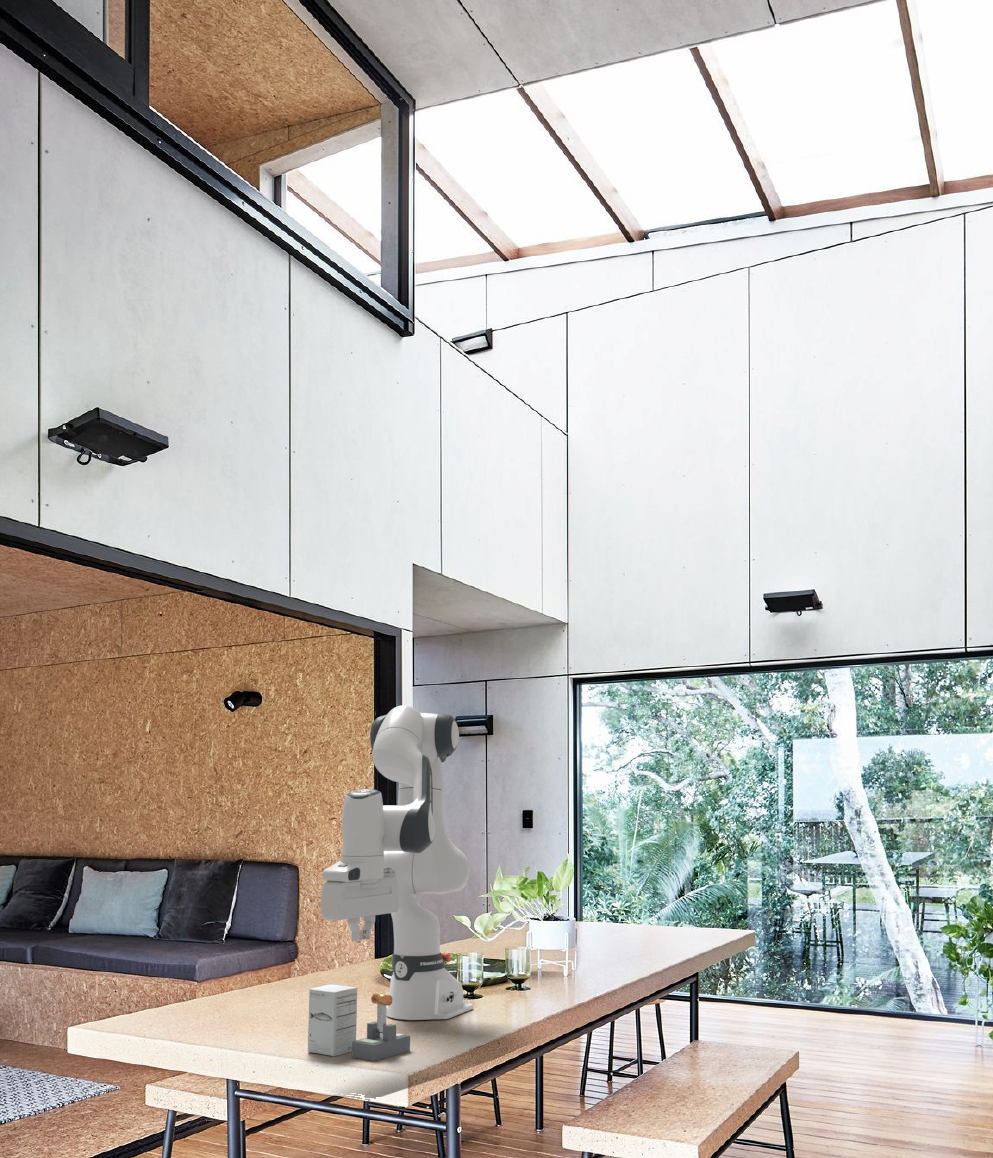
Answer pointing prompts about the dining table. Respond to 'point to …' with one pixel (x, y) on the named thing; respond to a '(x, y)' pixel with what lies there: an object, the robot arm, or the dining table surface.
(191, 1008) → the dining table surface
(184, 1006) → the dining table surface
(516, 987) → the dining table surface
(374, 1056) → the breaker housing
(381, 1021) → the breaker lever
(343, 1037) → the supplement box
